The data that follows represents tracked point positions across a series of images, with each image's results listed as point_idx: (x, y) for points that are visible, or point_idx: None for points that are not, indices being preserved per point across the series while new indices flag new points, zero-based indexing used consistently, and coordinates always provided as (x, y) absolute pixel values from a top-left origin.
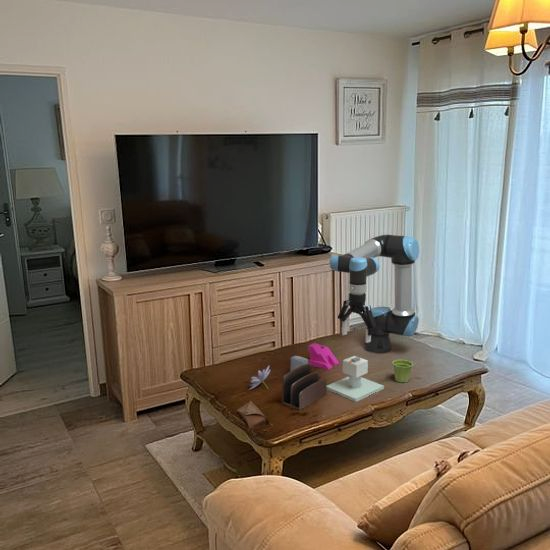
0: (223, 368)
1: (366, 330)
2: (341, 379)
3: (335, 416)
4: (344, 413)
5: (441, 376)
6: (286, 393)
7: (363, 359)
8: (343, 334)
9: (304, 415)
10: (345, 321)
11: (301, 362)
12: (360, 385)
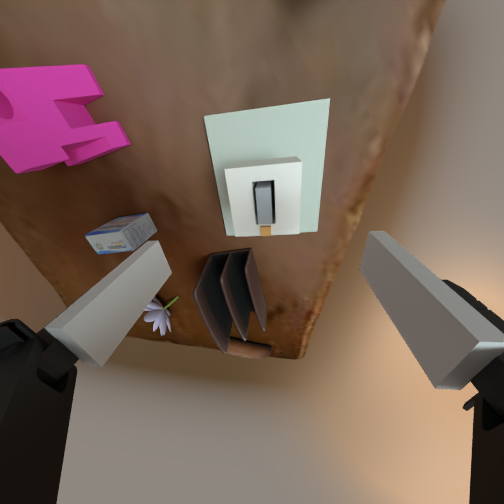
0: (75, 295)
1: (428, 361)
2: (216, 179)
3: (321, 288)
4: (327, 273)
5: None
6: (230, 316)
7: (280, 169)
8: (168, 274)
9: (283, 312)
10: (86, 346)
11: (132, 250)
12: None
